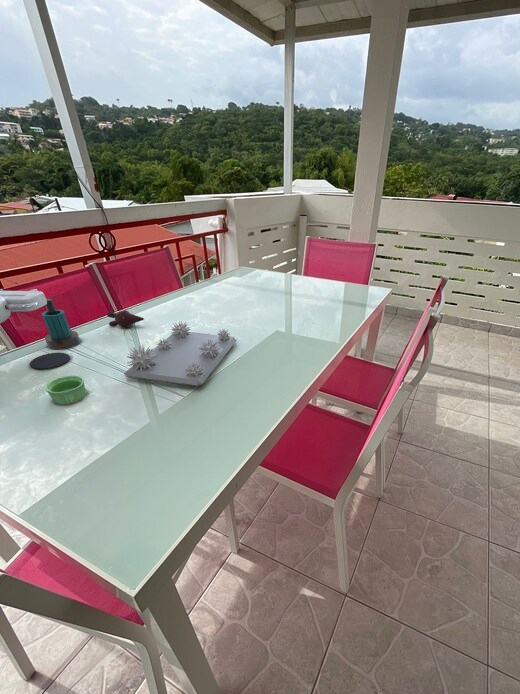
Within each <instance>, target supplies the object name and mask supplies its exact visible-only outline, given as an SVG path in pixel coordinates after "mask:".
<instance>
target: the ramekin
mask: <svg viewBox="0 0 520 694" xmlns="http://www.w3.org/2000/svg"><path fill="white" fill-rule="evenodd" d="M45 391H46V392H47V393H48V395H49V397H50V398H51V400H52V401H53V402H54V403H55V404H57V405H69V404H70V405H71V404H74V403H77V402H79V401H81V400H82V399H83V398H85V396H87V390H86V386H85V380H84V378H83V377H81V376H79V375H64V376H60V377H56V378H55V379H53V380H50V381H49V382H48V383H47V384H46V385H45Z"/></svg>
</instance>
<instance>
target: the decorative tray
mask: <svg viewBox="0 0 520 694" xmlns="http://www.w3.org/2000/svg"><path fill="white" fill-rule="evenodd" d="M180 321H181V322H180ZM180 321H179V322H178V323H176V322H174V324H173V326H170V328H169V330H170V331H172V332H170V334H169V336H168V337H167V338H162V339H161V338H160V339H159V342H158V343H157V344H156V346H155V347H154V348H152V349H151V348H150V345H149V346H148V347H147V348H146V349H145V346H142V345H141V344H139V345H138V349H137V348H136V347H134V346H133V347H132V348H131V347H129V349H130V350H131V352H130V353H126V355H127V356H126V358H128V359H131V360H130V361H127V362H126V364H127V367H130V368H128V369H127V370H126V371H125V372H124V373H123V375H124V376H125V377H126V378H130V379H137V380H143V381H151V382H157V383H158V382H159V383H165V384H174V385H181V386H188V387H195V388H196V387H197V388H199V387H201V386H202V385H203V384H204V383H205V382H206V380H207V379H208V378H209V376H210V375H211V374H212V372H213V371H214V370H215V369H216V368H217V366H218V365H219V364H220V363H221V361H222V360H223V359H224V357H225V356H226V355H227V354H228V352H229V351H230V350H231V348H232V347H233V346H234V344H235V343H236V342H237V339H236V338H235V337H234V336H230V335H231V333H230V332H229V330H228V329H226V330H225V328H222V330H221V329H219V332H218V333H217V334H211V333H203V332H195V331H191V329H192V326H188V325H189V323H186V321H185V322H184V323H183V322H182V320H180ZM128 364H129V365H128Z"/></svg>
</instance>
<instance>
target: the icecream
mask: <svg viewBox="0 0 520 694" xmlns="http://www.w3.org/2000/svg"><path fill="white" fill-rule="evenodd" d="M106 316H107V317H108V318H111V319H114V320H111V321H109V322H108V326H110V327H117V326H119V327H122V328H130V327H131V326H132V325H135V324H137V323H139V322H141V321H144V320H145V318H144V317H141V316H138V315H136V314H133V313H130V311H128V310H126V309H125V310H122V311H117V313H116V312H114V311H107V312H106Z"/></svg>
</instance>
